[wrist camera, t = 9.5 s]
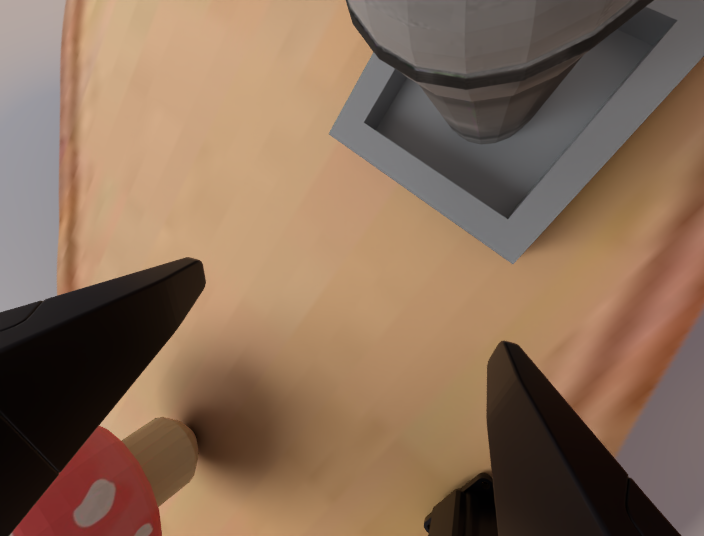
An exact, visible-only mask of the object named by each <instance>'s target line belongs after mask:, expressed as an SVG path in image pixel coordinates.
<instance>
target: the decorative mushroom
mask: <svg viewBox="0 0 704 536" xmlns="http://www.w3.org/2000/svg"><path fill="white" fill-rule="evenodd" d="M198 454H199V453H198V444H197V439H196V436H195V434H194V432H193V431H192V430H191V429H190V428H189V427H187V426H186V425H185V424H183V423H182V422H180V421H177V420H173V419H169V418H164V417H160V418H155V419H154V420H152V421H151V422H149V423H148V424H146V425H145V426H143V427H142V428H140V429H138V430H137V431H135V432H134V433H132V434H131V435H129V436H128V437H126V438H125V439H123V440H122V441H121V440H120V439H118V438H117V437H116V436H115V435H114V434H112V433H111V432H110V431H109V430H107V429H105V428H103V427H101V426H98V427H97V428H96V430H95V431H94V432H93V433H92V435H91V436H90V437H89V438H88V440H87V441H86V442H85V443H84V444H83V446H82V447H81V448H80V449H79V451H78V452H77V453H76V454H75V455H74V457H73V458H72V459H71V460H70V462H69V463H68V464H67V465H66V467H65V468H64V469H63V470H62V471H61V472H60V473H59V475H58V477H57V478H56V479H55V480H54V482H53V483H52V484H51V485H50V487H49V488H48V489H47V490H46V491H45V493H44V494H43V495H42V496H41V498H40V499H39V500H38V501H37V502H36V504H35V505H34V506H33V507H32V509H31V510H30V511H29V512H28V513H27V515H26V516H25V517H24V518H23V520H22V521H21V522H20V523H19V525H18V526H17V527H16V528H15V529H14V531H13V532H12V533H11V534H10V536H162V531H161V522H160V514H159V508H158V507H159V506H160V505H161V504H163V503H164V502H165V501H166V500H168V499H169V498H170V497H171V496H173V495H174V494H175V493H176V492H178V491H179V490H180V489H181V488H182V487H184V486H185V485H186V484H187V483H189V482H190V480H191V479H192V477H193V476H194V473H195V469H196V464H197V459H198Z"/></svg>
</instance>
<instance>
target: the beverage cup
mask: <svg viewBox="0 0 704 536" xmlns="http://www.w3.org/2000/svg"><path fill="white" fill-rule="evenodd" d="M652 1H654V0H346V3H347V6H348V9H349V13H350V16H351V19H352V23H353V25H354V26H355V27H356V29H357V30H358V31H359V33H360V34H361V35H362V37H363V38H364V40H365V41H366V42H367V44H368V45H369V46H370V48H371V49H372V50H373V52H374V53H375V54H376V56H377V57H378V59H380V60H381V61H383V62H385V63H386V64H388V65H390V66H391V67H393V68H395V69H396V70H398V71H399V72H401V73H402V74H403V75H405V76H406V77H408V78H409V79H411V80H412V81H414V82H416V83H417V84H419V86H420V87H421V88H422V90H423V91H424V92H425V94H426V95H427V96H428V98H429V99H430V100H431V102H432V103H433V104H434V106H435V107H436V108H437V110H438V111H439V112H440V114H441V115H442V116H443V118H444V119H445V121H446V122H447V123H448V125H449V126H450V127H451V129H452V130H453V131H455V132H456V133H457V134H458V135H459V136H460V137H462V138H464V139H465V140H467V141H468V142H472V143H477V144H492V143H497V142H500V141H502V140H505V139H507V138H510V137H511V136H512V135H514V134H515V133H516V132H518V131H519V130H520V129H522V128H523V126H524V125H525V124H527V123H528V122H529V121H530V120H531V119H532V118H533V116H534V115H535V114H536V113H537V111H538V110H539V109H540V108H541V107H542V105H543V104H544V103H545V102H546V100H547V99H548V98H549V97H550V96H551V94H552V93H553V92H554V91H555V89H556V88H557V87H558V86H559V85H560V83H561V82H562V81H563V80H564V78H565V77H566V76H567V75H568V73H569V72H570V71H571V70H572V69H573V67H574V66H575V65H576V64H577V62H578V61H579V60H580V59H581V58H582V56H583V55H584V54H586V53H587V52H588V51H590V50H591V49H592V48H594V47H595V46H596V45H597V44H599V43H600V42H601V41H603V40H604V39H605V38H606V37H608V36H609V35H610V34H612V33H613V32H614V31H615V30H617V29H618V28H619V27H620V26H622V25H623V24H624V23H626V22H627V21H628V20H629V19H631V18H632V17H633V16H635V15H636V14H637V13H638V12H640V11H641V10H642V9H643V8H645V7H646V6H647V5H649V4H650V3H651V2H652Z"/></svg>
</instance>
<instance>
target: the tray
mask: <svg viewBox="0 0 704 536" xmlns="http://www.w3.org/2000/svg"><path fill="white" fill-rule="evenodd" d="M703 56H704V0H654V1H652V2H651V3H650V4H649V5H647V6H646V7H645V8H643V9H642V10H641V11H640V12H638V13H637V14H636V15H635V16H633V17H632V18H631V19H629V20H628V21H627V22H626V23H624V24H623V25H622V26H620V27H619V28H618V29H617V30H615V31H614V32H613V33H612V34H610V35H609V36H608V37H606V38H605V39H604V40H603V41H601V42H600V43H599V44H597V45H596V46H595V47H594V48H592V49H591V50H590V51H588V52H587V53H586V54H584V55H583V56H582V58H581V59H580V60H579V61H578V62H577V64H576V65H575V66H574V67H573V69H572V70H571V71H570V72H569V73H568V75H567V76H566V77H565V78H564V80H563V81H562V82H561V83H560V85H559V86H558V87H557V88H556V89H555V91H554V92H553V93H552V94H551V96H550V97H549V98H548V99H547V100H546V102H545V103H544V104H543V105H542V107H541V108H540V109H539V110H538V111H537V113H536V114H535V115H534V116H533V118H532V119H531V120H530V121H529V122H528V123H527V124H525V125H524V126H523V128H522V129H520V130H519V131H518V132H516V133H515V134H514V135H512V136H511V137H510V138H507V139H505V140H502V141H500V142H497V143H492V144H477V143H472V142H468V141H467V140H465V139H464V138H462V137H460V136H459V135H458V134H457V133H456V132H455V131H453V130H452V129H451V127H450V126H449V125H448V123H447V122H446V121H445V119H444V118H443V116H442V115H441V114H440V112H439V111H438V110H437V108H436V107H435V106H434V104H433V103H432V102H431V100H430V99H429V98H428V96H427V95H426V94H425V92H424V91H423V90H422V88H421V87H420V86H419V84H417V83H416V82H414V81H412V80H411V79H409V78H408V77H406V76H405V75H403V74H402V73H401V72H399V71H398V70H396V69H395V68H393V67H391V66H390V65H388V64H386V63H385V62H383V61H381V60H380V59H378V57H377V56H376V54H375V53H374V52H373V54H372V56H371V58H370V60H369V61H368V63H367V65H366V67H365V69H364V70H363V72H362V74H361V76H360V78H359V80H358V81H357V83H356V85H355V87H354V89H353V90H352V92H351V94H350V96H349V98H348V100H347V101H346V103H345V105H344V107H343V109H342V110H341V112H340V114H339V116H338V118H337V120H336V121H335V123H334V125H333V127H332V129H331V130H330V132H329V135H331V136H332V137H334V138H335V139H336V140H338V141H339V142H341V143H342V144H344V145H345V146H346V147H348V148H349V149H351V150H352V151H353V152H355V153H356V154H358V155H359V156H360V157H362V158H363V159H365V160H366V161H368V162H369V163H370V164H372V165H373V166H375V167H376V168H377V169H379V170H380V171H382V172H383V173H385V174H386V175H387V176H389V177H390V178H392V179H393V180H394V181H396V182H397V183H399V184H400V185H402V186H403V187H404V188H406V189H407V190H409V191H410V192H411V193H413V194H414V195H416V196H417V197H418V198H420V199H421V200H423V201H424V202H426V203H427V204H428V205H430V206H431V207H433V208H434V209H435V210H437V211H438V212H440V213H441V214H443V215H444V216H445V217H447V218H448V219H450V220H451V221H452V222H454V223H455V224H457V225H458V226H459V227H461V228H462V229H464V230H465V231H467V232H468V233H469V234H471V235H472V236H474V237H475V238H476V239H478V240H479V241H481V242H482V243H484V244H485V245H486V246H488V247H489V248H491V249H492V250H493V251H495V252H496V253H498V254H499V255H500V256H502V257H503V258H505V259H506V260H508V261H509V262H510V263H512V264H514V263H515V262H516V260H517V259H518V258H519V257H520V256H521V255H522V254H523V253H524V252H525V251H526V250H527V248H528V247H529V246H530V245H531V244H532V243H533V242H534V241H535V240H536V239H537V238H538V236H539V235H540V234H541V233H542V232H543V231H544V230H545V229H546V228H547V227H548V226H549V224H550V223H551V222H552V221H553V220H554V219H555V218H556V217H557V216H558V215H559V214H560V212H561V211H562V210H563V209H564V208H565V207H566V206H567V205H568V204H569V203H570V202H571V200H572V199H573V198H574V197H575V196H576V195H577V194H578V193H579V192H580V191H581V189H582V188H583V187H584V186H585V185H586V184H587V183H588V182H589V181H590V180H591V179H592V177H593V176H594V175H595V174H596V173H597V172H598V171H599V170H600V169H601V168H602V167H603V165H604V164H605V163H606V162H607V161H608V160H609V159H610V158H611V157H612V156H613V155H614V153H615V152H616V151H617V150H618V149H619V148H620V147H621V146H622V145H623V144H624V143H625V141H626V140H627V139H628V138H629V137H630V136H631V135H632V134H633V133H634V132H635V131H636V129H637V128H638V127H639V126H640V125H641V124H642V123H643V122H644V121H645V120H646V119H647V117H648V116H649V115H650V114H651V113H652V112H653V111H654V110H655V109H656V108H657V106H658V105H659V104H660V103H661V102H662V101H663V100H664V99H665V98H666V97H667V96H668V94H669V93H670V92H671V91H672V90H673V89H674V88H675V87H676V86H677V85H678V84H679V82H680V81H681V80H682V79H683V78H684V77H685V76H686V75H687V74H688V73H689V72H690V70H691V69H692V68H693V67H694V66H695V65H696V64H697V63H698V62H699V61H700V60H701V58H702V57H703Z"/></svg>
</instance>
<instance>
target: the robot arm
mask: <svg viewBox="0 0 704 536" xmlns="http://www.w3.org/2000/svg"><path fill="white" fill-rule="evenodd" d="M205 284H206V280H205V274H204V268H203V264H202V262H201V261H200V260H197V259H194V258H189V257H186V258H183V259H179V260H176V261H173V262H169V263H166V264H163V265H159V266H156V267H153V268H149V269H146V270H142V271H139V272H136V273H132V274H129V275H126V276H122V277H119V278H115V279H112V280H109V281H105V282H102V283H99V284H95V285H92V286H89V287H85V288H82V289H78V290H75V291H72V292H68V293H65V294H62V295H58V296H55V297H51V298H48V299H45V300H44V301H38V302H34V303H31V304H28V305H25V306H21V307H18V308H14V309H10V310H7V311H3V312H0V536H10V534H11V533H12V532H13V531H14V529H15V528H16V527H17V526H18V525H19V523H20V522H21V521H22V520H23V518H24V517H25V516H26V515H27V513H28V512H29V511H30V510H31V509H32V507H33V506H34V505H35V504H36V502H37V501H38V500H39V499H40V498H41V496H42V495H43V494H44V493H45V491H46V490H47V489H48V488H49V487H50V485H51V484H52V483H53V482H54V480H55V479H56V478H57V477H58V475H59V473H60V472H61V471H62V470H63V469H64V468H65V467H66V465H67V464H68V463H69V462H70V460H71V459H72V458H73V457H74V455H75V454H76V453H77V452H78V451H79V449H80V448H81V447H82V446H83V444H84V443H85V442H86V441H87V440H88V438H89V437H90V436H91V435H92V433H93V432H94V431H95V430H96V428H97V427H98V426H99V425H100V424H101V422H102V421H103V420H104V419H105V417H106V416H107V415H108V414H109V412H110V411H111V410H112V409H113V408H114V406H115V405H116V404H117V403H118V401H119V400H120V399H121V398H122V397H123V395H124V394H125V393H126V392H127V390H128V389H129V388H130V387H131V385H132V384H133V383H134V382H135V381H136V379H137V378H138V377H139V376H140V374H141V373H142V372H143V371H144V370H145V368H146V367H147V366H148V365H149V363H150V362H151V361H152V360H153V358H154V357H155V356H156V355H157V354H158V352H159V351H160V350H161V349H162V347H163V346H164V345H165V344H166V342H167V341H168V340H169V339H170V338H171V336H172V335H173V334H174V333H175V331H176V330H177V329H178V327H179V326H180V324H181V323H182V322H183V320H184V319H185V317H186V315H187V314H188V312H189V311H190V309H191V308H192V306H193V305H194V303H195V302H196V300H197V299H198V297H199V296H200V294H201V293H202V291H203V289H204V287H205ZM487 429H488V439H489V449H490V459H491V468H492V477H491V476H489V475H488V474H485V473H481V474H479V475H477V476H476V477H475V478H474V479H473V480H471V481H470V482H469V483H468V484H466V485H465V486H464V487H463V488H461V489H456V490H454V491H453V492H452V493H451V494H449V495H448V496H447V497H446V498H444V499H443V500H442V501H441V502H440V503H438V504H437V505H436V506H435V507H434V508H433V512H432V513H430V514H429V515H428V516H427V517H426V518H425V521H424V528H425V530H426V531H427V532H428V533H429V535H428V536H681V535H680V534H679V533H678V531H677V530H676V529H675V528H674V527H673V526H672V525H671V524H670V522H669V521H668V520H667V519H666V518H665V517H664V516H663V514H662V513H661V512H660V511H659V510H658V509H657V507H656V506H655V505H654V504H653V503H652V502H651V501H650V499H649V498H648V497H647V496H646V495H645V494H644V493H643V491H642V490H641V489H640V488H639V487H638V485H637V484H636V483H635V482H634V481H633V479H631V478H628V474H627V473H626V471H625V470H624V469H623V468H622V467H621V465H620V464H619V463H618V462H617V461H616V459H615V458H614V457H613V456H612V455H611V454H610V452H609V451H608V450H607V449H606V448H605V447H604V445H603V444H602V443H601V442H600V441H599V439H598V438H597V437H596V436H595V435H594V434H593V432H592V431H591V430H590V429H589V428H588V426H587V425H586V424H585V423H584V422H583V421H582V419H581V418H580V417H579V416H578V415H577V413H576V412H575V411H574V410H573V409H572V408H571V406H570V405H569V404H568V403H567V402H566V400H565V399H564V398H563V397H562V396H561V395H560V393H559V392H558V391H557V390H556V389H555V387H554V386H553V385H552V384H551V383H550V382H549V380H548V379H547V378H546V377H545V376H544V374H543V373H542V372H541V371H540V370H539V369H538V367H537V366H536V365H535V364H534V363H533V361H532V360H531V359H530V358H529V357H528V356H527V354H526V353H525V352H524V351H523V350H522V348H521V347H520V346H519V345H517V344H515V343H511V342H508V341H501V342H500V343H499V344H498V345H497V347H496V349H495V350H494V352H493V354H492V355H491V357H490V359H489V361H488V365H487ZM482 482H487V483H488V484H484V483H482Z"/></svg>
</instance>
